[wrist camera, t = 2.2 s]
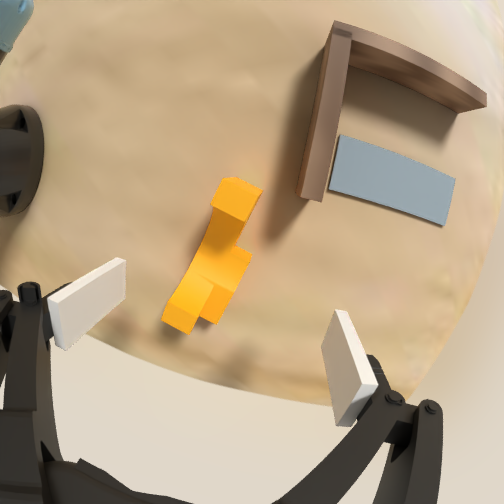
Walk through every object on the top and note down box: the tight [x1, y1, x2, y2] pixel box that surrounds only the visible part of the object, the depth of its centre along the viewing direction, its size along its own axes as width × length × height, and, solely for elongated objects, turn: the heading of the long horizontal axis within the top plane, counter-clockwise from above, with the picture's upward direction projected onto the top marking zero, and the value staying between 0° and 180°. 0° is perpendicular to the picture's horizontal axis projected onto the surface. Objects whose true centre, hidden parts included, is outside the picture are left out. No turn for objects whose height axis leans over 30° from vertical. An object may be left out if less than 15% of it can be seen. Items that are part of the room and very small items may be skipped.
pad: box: [328, 135, 455, 226], centre depth 22 cm, size 13×5×1 cm, turn 78°
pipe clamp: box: [161, 177, 263, 335], centre depth 22 cm, size 12×4×6 cm, turn 153°
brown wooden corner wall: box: [295, 20, 487, 202], centre depth 18 cm, size 15×15×5 cm
